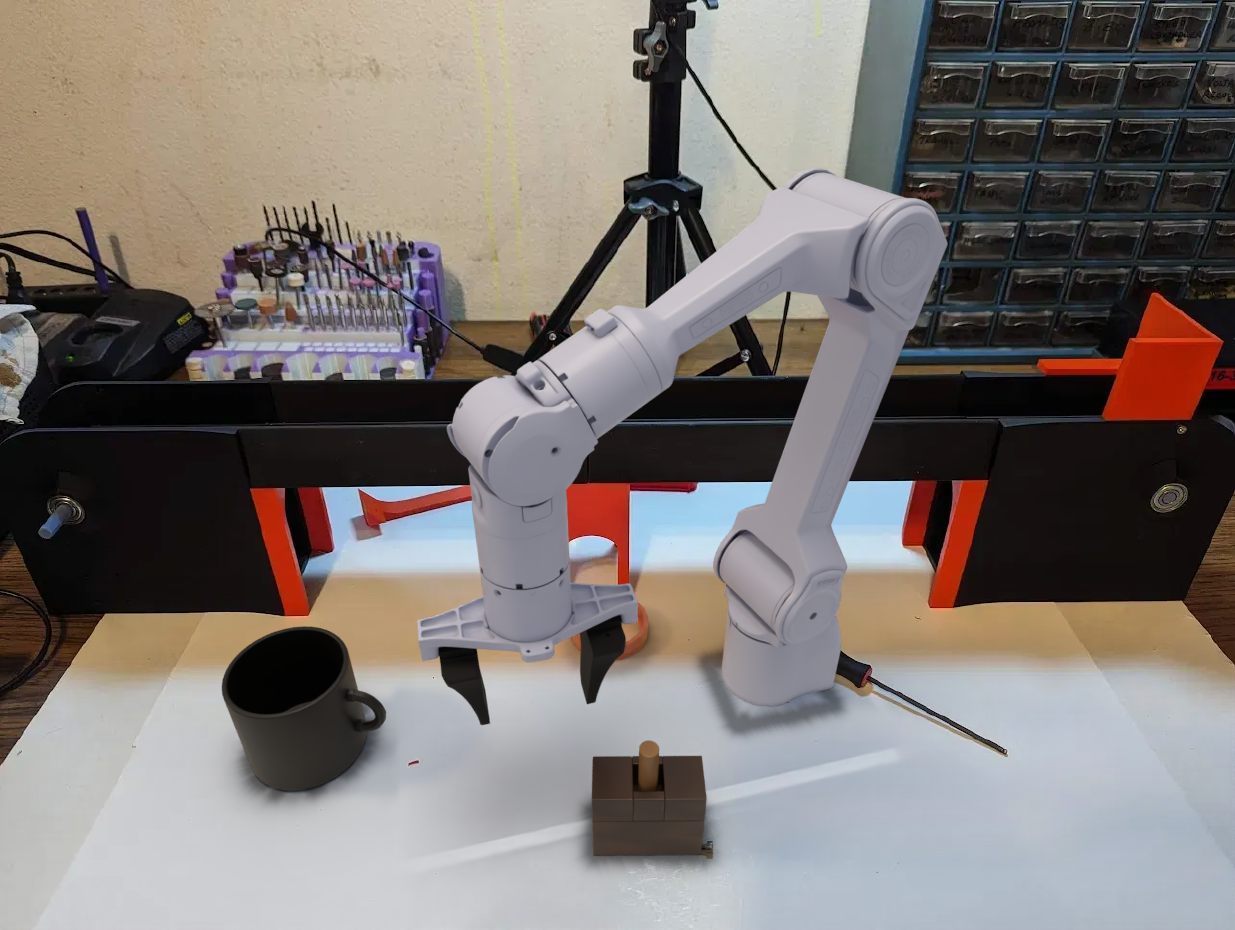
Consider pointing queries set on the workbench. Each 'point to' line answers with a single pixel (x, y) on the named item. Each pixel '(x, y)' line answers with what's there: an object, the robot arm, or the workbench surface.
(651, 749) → the stick
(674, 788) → the stand
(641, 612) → the ring
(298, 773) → the mug
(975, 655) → the workbench surface
